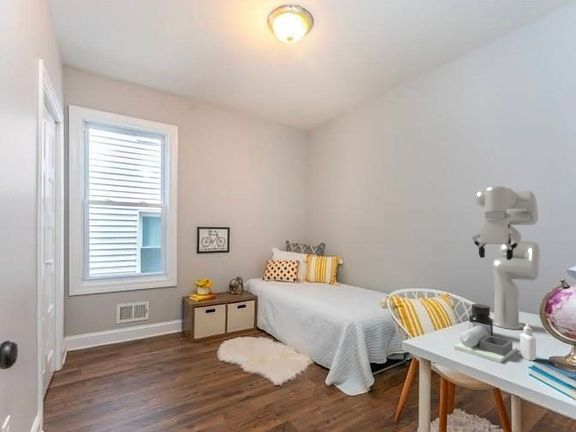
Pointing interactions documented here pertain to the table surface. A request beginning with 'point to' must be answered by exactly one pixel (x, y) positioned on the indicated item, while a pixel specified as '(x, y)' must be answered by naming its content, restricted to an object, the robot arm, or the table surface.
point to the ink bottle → (481, 316)
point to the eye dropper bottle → (528, 344)
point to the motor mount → (485, 343)
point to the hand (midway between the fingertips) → (495, 258)
